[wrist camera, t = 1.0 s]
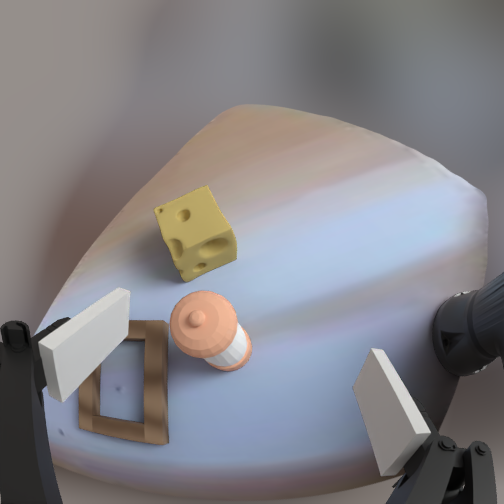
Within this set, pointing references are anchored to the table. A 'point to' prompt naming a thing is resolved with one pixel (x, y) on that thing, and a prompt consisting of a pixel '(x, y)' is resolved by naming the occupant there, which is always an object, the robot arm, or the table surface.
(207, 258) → the cheese
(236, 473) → the table surface
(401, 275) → the table surface
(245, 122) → the table surface
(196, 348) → the salt shaker
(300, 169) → the table surface
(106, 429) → the rail frame
